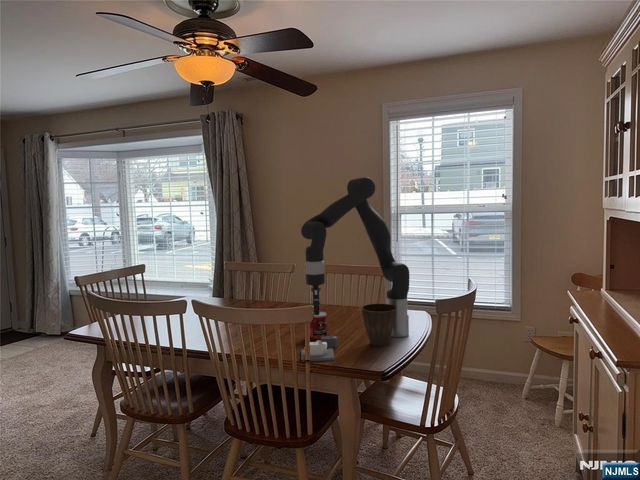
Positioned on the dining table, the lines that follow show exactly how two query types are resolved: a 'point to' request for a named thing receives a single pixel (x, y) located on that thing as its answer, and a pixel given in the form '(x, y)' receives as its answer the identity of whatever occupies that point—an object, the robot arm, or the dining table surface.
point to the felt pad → (320, 356)
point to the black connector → (330, 341)
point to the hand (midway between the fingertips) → (316, 312)
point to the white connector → (318, 348)
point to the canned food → (319, 326)
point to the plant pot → (379, 322)
